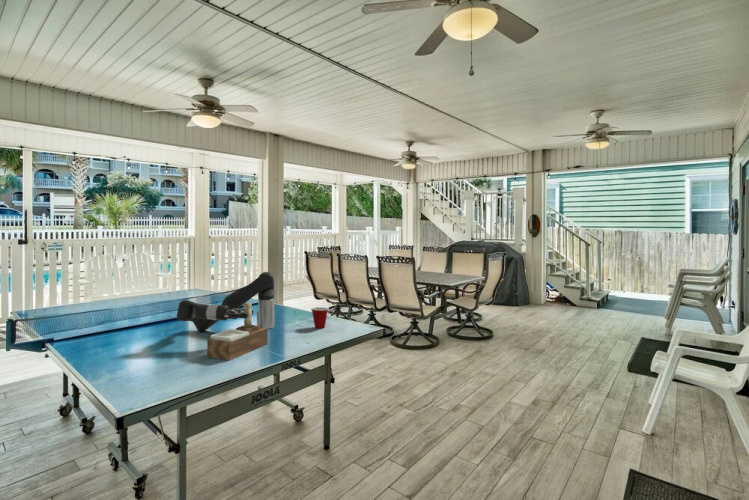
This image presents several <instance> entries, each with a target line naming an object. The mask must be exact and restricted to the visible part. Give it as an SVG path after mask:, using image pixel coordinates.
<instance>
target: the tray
mask: <svg viewBox="0 0 749 500" xmlns="http://www.w3.org/2000/svg"><path fill="white" fill-rule="evenodd" d="M246 336H249V332H247V331H240V330H236V329H230V328H228V329H226V330H223V331H220V332H216V333H214V334H211V335H210V339H213V340H220V341H227V342H232V341H235V340H238V339H240V338H243V337H246Z"/></svg>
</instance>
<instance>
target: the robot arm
mask: <svg viewBox="0 0 749 500" xmlns="http://www.w3.org/2000/svg"><path fill="white" fill-rule="evenodd" d="M256 295H257V310H258V311H256V325H257V326H260V328H265V329H273V328H275V279H274V275H273V273H271V272H269V271H263V272H262V273H260V274H259V275H258V277H257V278H255V279H254V280H253V281H252V282H249V284H247V285H245V286H243V287H241V288H238V289H236V290H235V291H232V292H231V293H230V294H228V295H226V296H225V297H224V299H223V300H222V302H221V304H202V303H201V304H200V303H197V302H194V301H191V300H188V299H182V300H180V301H179V303H178V308H177V311H176V319H177V320H178V321H179V322H192V323H193V325H194V326H195V328H196V330H197V331H198V332H199V333H200V332H201V333H202V332H204V331H207V330H208V329H210V328H211V327H213V326H214V325H215V324H217V323H218V322H219V321H228V320H239V319H244V318H248V314H244V308H241V306H244V303H248V302H249V301H250V300H251V299H253V298H254V297H255V296H256ZM253 315H254V310H252V316H253Z"/></svg>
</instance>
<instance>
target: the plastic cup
mask: <svg viewBox="0 0 749 500" xmlns="http://www.w3.org/2000/svg"><path fill="white" fill-rule="evenodd" d="M310 310H311V313H312V317H313V324H314V328H315V329H317V330H321V329H325V328H326V322H327V317H328V312H329V310H330V308H328V307H321V306H320V307H318V306H316V307H315V306H314V307H310Z"/></svg>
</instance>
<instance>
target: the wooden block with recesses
mask: <svg viewBox="0 0 749 500" xmlns="http://www.w3.org/2000/svg"><path fill="white" fill-rule="evenodd" d="M235 330H240V331H247V332H249V336H246V337H243V338H240V339H238V340H235V341H232V342H227V341H220V340H213V339H211V338H209V339H208V338H207V340H206V341H207V342H206V344H207V346H206V347H207V348H206V349H207V351H206V353H207V357H208V358H212V359H218V360H223V361H232V360H235V359H237V358H239V357H242V356H243V355H246V354H249V353H250V352H254V351H255V350H258V349H260V348H262V347H265V346H267V345H268V343H269V341H268V339H269V336H268V331H269V330H268V329H265V328H260V326H257V324H252V328H249V329H248V328H244V325H241V326H237V327H236V328H235Z"/></svg>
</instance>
